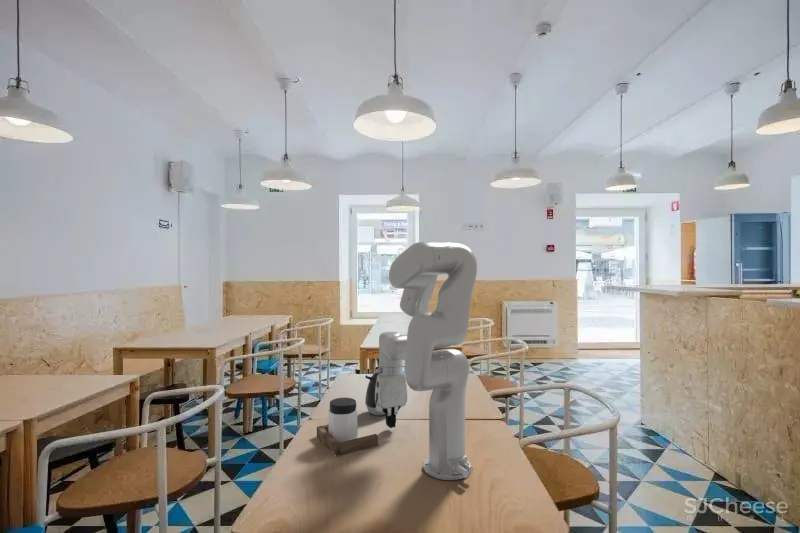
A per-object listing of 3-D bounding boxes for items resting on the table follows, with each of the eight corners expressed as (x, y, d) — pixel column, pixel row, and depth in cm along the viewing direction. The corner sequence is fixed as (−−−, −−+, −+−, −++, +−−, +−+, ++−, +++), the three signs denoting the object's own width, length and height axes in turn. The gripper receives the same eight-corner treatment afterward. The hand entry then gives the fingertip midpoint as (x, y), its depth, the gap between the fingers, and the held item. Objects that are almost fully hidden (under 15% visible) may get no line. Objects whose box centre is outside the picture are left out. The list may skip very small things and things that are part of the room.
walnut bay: (378, 445, 124) (378, 435, 124) (336, 456, 117) (336, 445, 117) (355, 427, 138) (355, 418, 138) (316, 436, 131) (316, 426, 131)
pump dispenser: (360, 410, 154) (360, 369, 153) (386, 406, 158) (386, 366, 158) (370, 420, 144) (370, 376, 144) (397, 415, 149) (397, 373, 149)
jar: (361, 442, 126) (361, 403, 126) (336, 448, 122) (335, 408, 122) (349, 432, 134) (349, 395, 134) (325, 437, 130) (325, 399, 129)
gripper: (375, 376, 128) (376, 435, 128) (416, 369, 136) (416, 425, 136) (365, 370, 135) (365, 427, 135) (404, 365, 142) (404, 418, 142)
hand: (390, 426), depth 135 cm, fingers closed
